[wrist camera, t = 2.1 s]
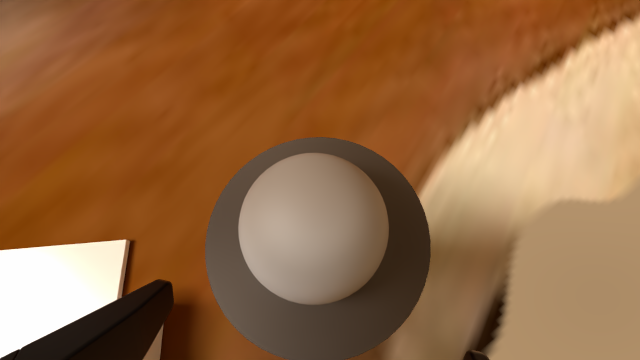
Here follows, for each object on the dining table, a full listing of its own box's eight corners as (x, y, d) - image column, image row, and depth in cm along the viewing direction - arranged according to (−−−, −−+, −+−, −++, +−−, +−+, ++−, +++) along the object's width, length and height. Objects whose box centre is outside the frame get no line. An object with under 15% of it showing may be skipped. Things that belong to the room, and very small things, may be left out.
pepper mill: (374, 322, 18) (518, 376, 4) (290, 329, 18) (124, 407, 4) (363, 238, 20) (434, 64, 6) (286, 245, 20) (167, 88, 6)
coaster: (104, 408, 17) (98, 410, 16) (-61, 421, 17) (-70, 424, 17) (129, 241, 20) (126, 239, 20) (-8, 252, 20) (-14, 251, 20)
